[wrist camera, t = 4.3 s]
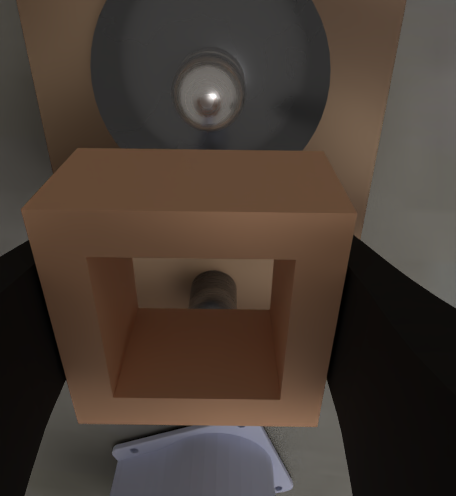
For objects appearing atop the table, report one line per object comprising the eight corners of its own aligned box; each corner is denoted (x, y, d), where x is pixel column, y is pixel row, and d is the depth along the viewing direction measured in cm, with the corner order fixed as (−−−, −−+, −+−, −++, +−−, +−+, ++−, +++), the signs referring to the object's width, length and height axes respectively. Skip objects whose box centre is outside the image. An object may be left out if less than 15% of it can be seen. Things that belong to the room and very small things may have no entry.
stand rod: (236, 307, 20) (236, 365, 17) (191, 306, 20) (184, 364, 17) (236, 270, 18) (238, 325, 15) (190, 270, 18) (182, 325, 15)
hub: (312, 186, 16) (328, 226, 14) (112, 184, 16) (89, 223, 14) (341, -58, 13) (372, -70, 10) (79, -60, 13) (36, -74, 10)
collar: (299, 334, 12) (317, 426, 10) (110, 332, 12) (78, 423, 10) (323, 150, 9) (357, 213, 7) (77, 148, 9) (21, 209, 7)
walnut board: (327, 358, 23) (332, 380, 22) (103, 355, 23) (96, 377, 22) (413, -129, 13) (433, -142, 12) (10, -133, 13) (-15, -146, 12)
